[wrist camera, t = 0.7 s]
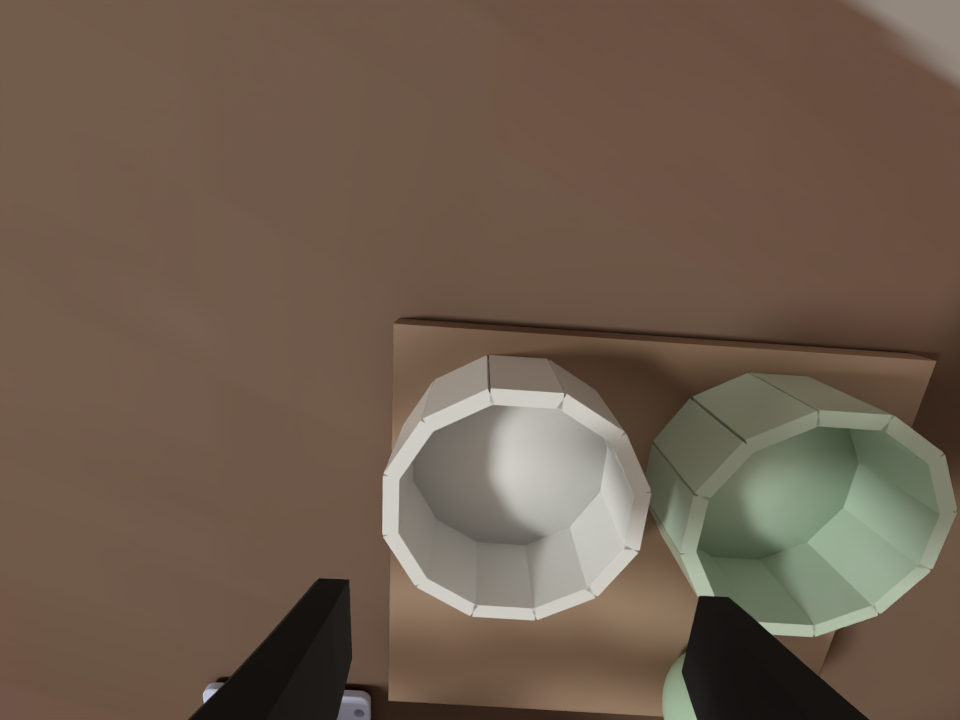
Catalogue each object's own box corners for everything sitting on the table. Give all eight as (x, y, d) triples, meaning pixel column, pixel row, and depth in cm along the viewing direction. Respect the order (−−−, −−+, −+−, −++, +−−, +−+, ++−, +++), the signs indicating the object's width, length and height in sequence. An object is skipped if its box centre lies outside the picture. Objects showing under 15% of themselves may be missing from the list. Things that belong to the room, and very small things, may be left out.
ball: (742, 704, 21) (820, 847, 16) (635, 699, 21) (682, 840, 16) (769, 620, 19) (864, 748, 15) (655, 613, 19) (712, 740, 14)
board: (786, 702, 22) (800, 724, 21) (392, 680, 22) (388, 700, 21) (911, 353, 17) (936, 361, 16) (398, 318, 17) (393, 323, 16)
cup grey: (598, 553, 18) (624, 626, 15) (400, 541, 18) (381, 611, 15) (631, 364, 16) (670, 400, 13) (404, 349, 16) (383, 380, 13)
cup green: (825, 567, 19) (900, 642, 15) (629, 555, 18) (662, 628, 15) (890, 381, 16) (996, 421, 13) (666, 366, 16) (715, 403, 13)
